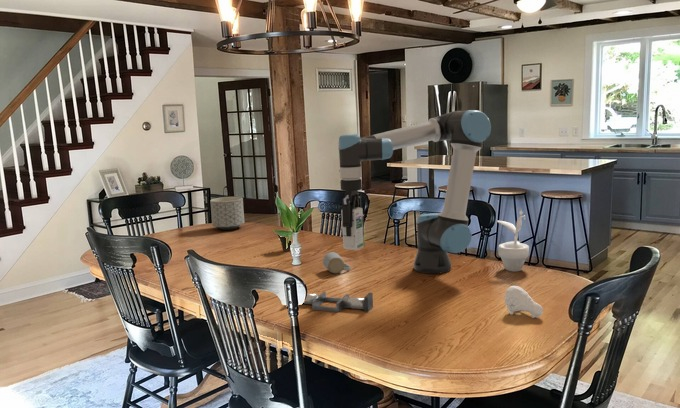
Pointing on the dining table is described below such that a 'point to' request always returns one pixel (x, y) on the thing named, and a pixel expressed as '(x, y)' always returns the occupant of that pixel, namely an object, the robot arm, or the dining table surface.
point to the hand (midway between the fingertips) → (353, 242)
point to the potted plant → (513, 248)
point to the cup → (283, 242)
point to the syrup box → (355, 230)
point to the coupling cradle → (340, 302)
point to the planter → (227, 212)
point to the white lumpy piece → (521, 302)
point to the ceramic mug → (334, 263)
